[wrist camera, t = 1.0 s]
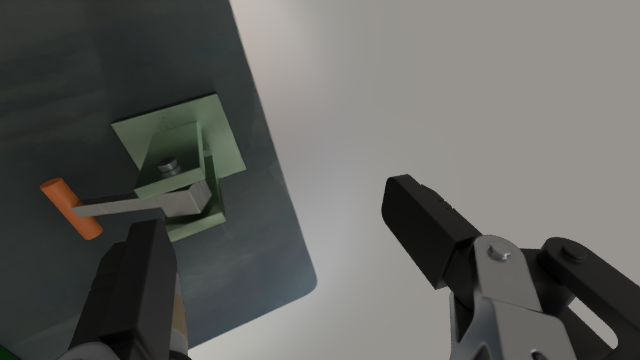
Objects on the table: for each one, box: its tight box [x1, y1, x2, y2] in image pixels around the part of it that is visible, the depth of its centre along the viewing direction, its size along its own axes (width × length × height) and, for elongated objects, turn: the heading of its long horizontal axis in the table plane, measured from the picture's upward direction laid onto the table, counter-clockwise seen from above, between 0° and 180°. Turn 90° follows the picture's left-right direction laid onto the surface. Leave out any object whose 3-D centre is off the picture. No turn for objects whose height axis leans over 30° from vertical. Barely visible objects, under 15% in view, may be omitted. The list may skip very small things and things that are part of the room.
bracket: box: [111, 92, 246, 242], centre depth 26 cm, size 10×9×13 cm
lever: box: [40, 178, 212, 240], centre depth 23 cm, size 12×6×2 cm, turn 102°
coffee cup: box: [169, 272, 192, 360], centre depth 31 cm, size 9×9×15 cm
